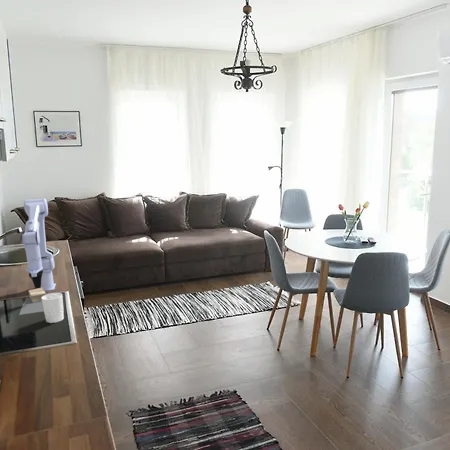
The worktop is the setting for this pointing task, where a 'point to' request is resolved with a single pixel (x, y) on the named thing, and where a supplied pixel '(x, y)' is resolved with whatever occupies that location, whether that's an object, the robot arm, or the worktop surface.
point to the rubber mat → (31, 307)
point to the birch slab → (36, 294)
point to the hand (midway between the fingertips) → (38, 287)
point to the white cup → (53, 307)
